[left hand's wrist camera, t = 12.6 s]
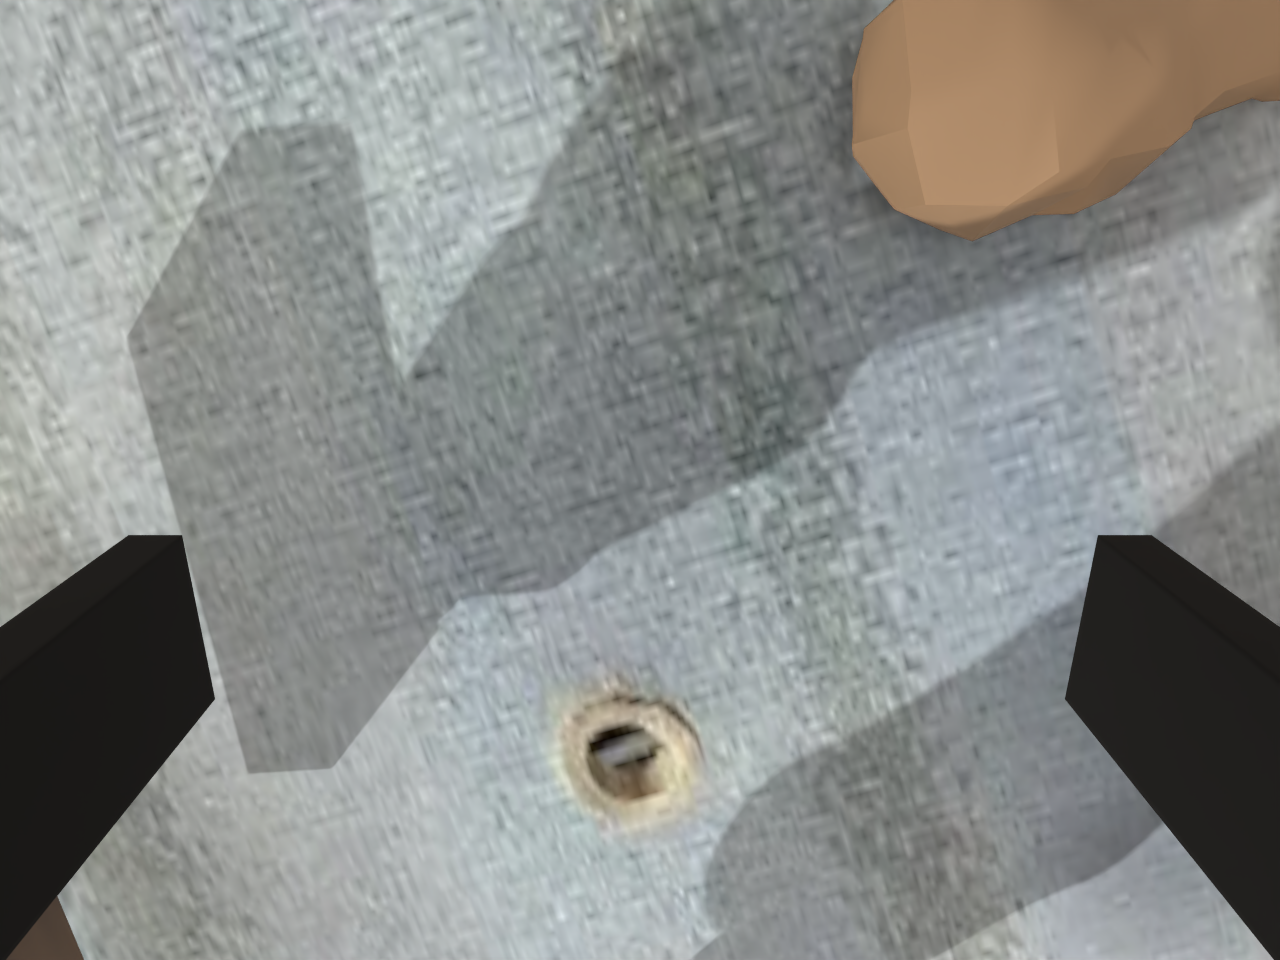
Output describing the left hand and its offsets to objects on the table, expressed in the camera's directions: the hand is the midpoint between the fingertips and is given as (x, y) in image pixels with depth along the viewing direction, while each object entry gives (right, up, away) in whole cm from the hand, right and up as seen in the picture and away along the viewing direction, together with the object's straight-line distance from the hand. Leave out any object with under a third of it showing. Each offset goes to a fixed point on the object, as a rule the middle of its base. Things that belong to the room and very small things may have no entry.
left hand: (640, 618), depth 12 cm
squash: (+18, +20, +25) cm, 36 cm away
